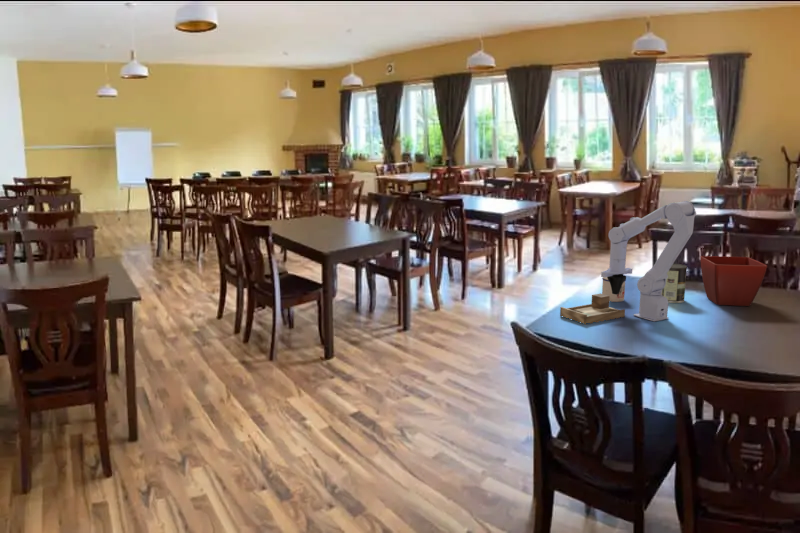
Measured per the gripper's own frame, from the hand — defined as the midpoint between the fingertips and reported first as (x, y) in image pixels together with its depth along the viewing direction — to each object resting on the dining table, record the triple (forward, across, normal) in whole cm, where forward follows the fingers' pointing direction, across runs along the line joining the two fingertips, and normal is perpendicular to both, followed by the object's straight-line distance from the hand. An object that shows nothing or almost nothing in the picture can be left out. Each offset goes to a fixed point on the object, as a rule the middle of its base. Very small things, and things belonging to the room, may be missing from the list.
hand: (615, 293), depth 265 cm
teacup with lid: (+6, -13, -12) cm, 18 cm away
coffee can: (+6, -31, +1) cm, 31 cm away
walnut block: (+4, +8, 0) cm, 9 cm away
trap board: (+6, +15, +3) cm, 16 cm away
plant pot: (+6, -48, +15) cm, 50 cm away
